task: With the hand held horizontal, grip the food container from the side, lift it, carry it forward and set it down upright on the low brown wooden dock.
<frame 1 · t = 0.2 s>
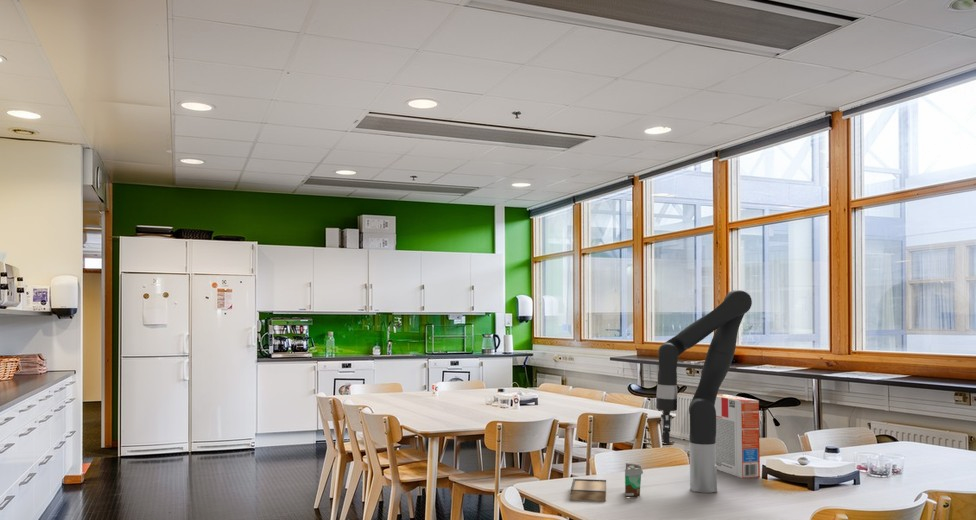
hand: (665, 441, 287), 17 cm above the table, tool pointing down, fingers open, 8 cm apart
pasta box: (734, 472, 317), on the table
dock: (588, 494, 276), on the table
food container: (634, 495, 276), on the table
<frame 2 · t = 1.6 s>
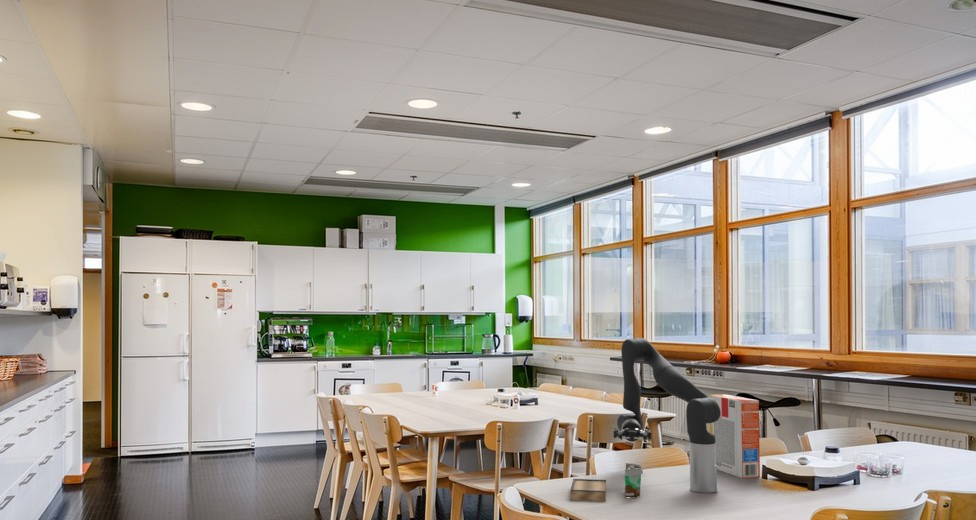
hand: (632, 437, 290), 18 cm above the table, tool horizontal, fingers open, 8 cm apart
nothing on the table moved.
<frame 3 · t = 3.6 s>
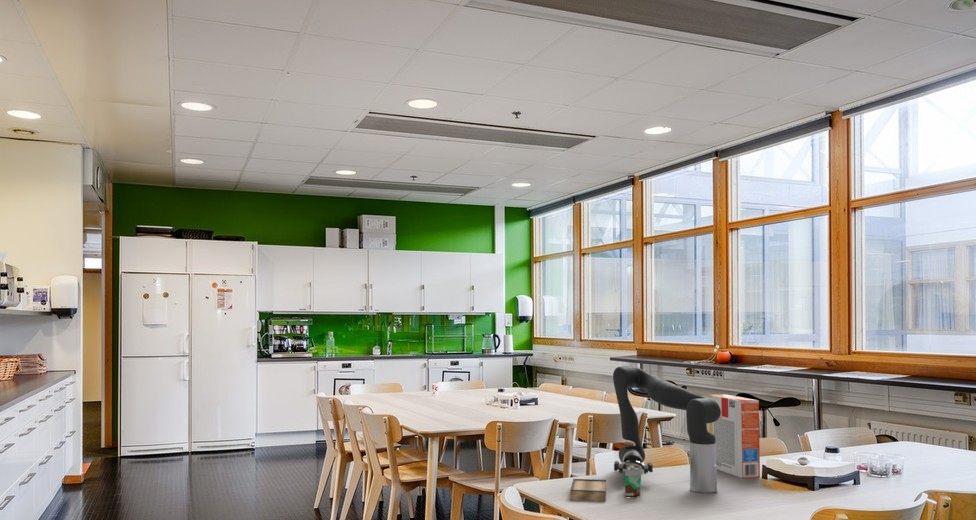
hand: (633, 470, 286), 7 cm above the table, tool horizontal, fingers open, 8 cm apart
nothing on the table moved.
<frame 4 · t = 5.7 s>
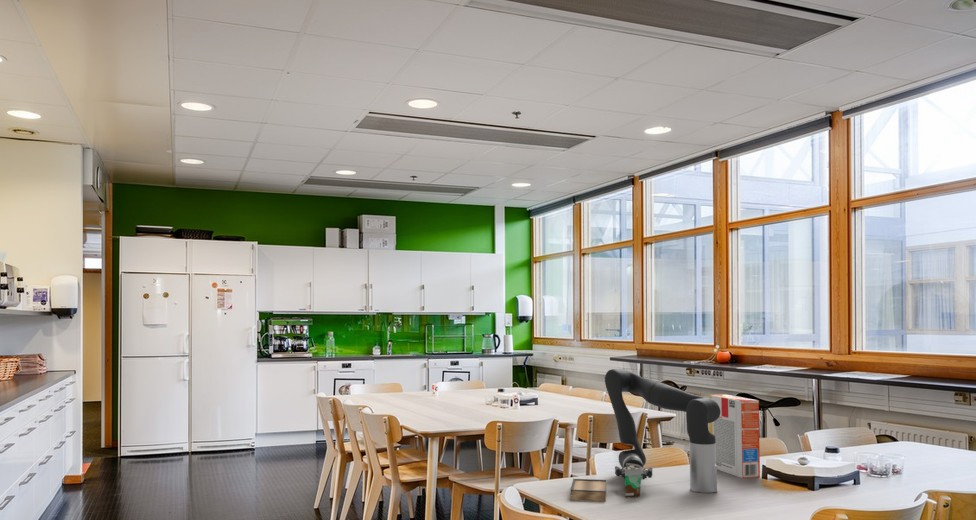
hand: (634, 476, 276), 7 cm above the table, tool horizontal, fingers closed on food container, 6 cm apart
food container: (634, 495, 276), on the table, touching gripper
everything else where it was.
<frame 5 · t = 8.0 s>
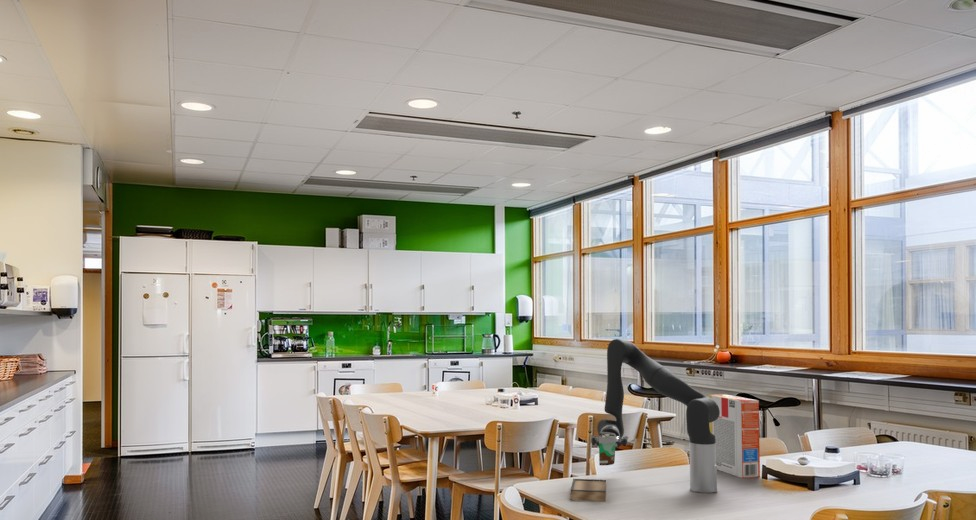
hand: (608, 444, 278), 18 cm above the table, tool horizontal, fingers closed on food container, 6 cm apart
food container: (609, 463, 278), point 11 cm above the table, touching gripper
everything else where it was.
when the fingers open (10 cm above the table, at t = 10.5 s): food container stays where it is, resting on dock.
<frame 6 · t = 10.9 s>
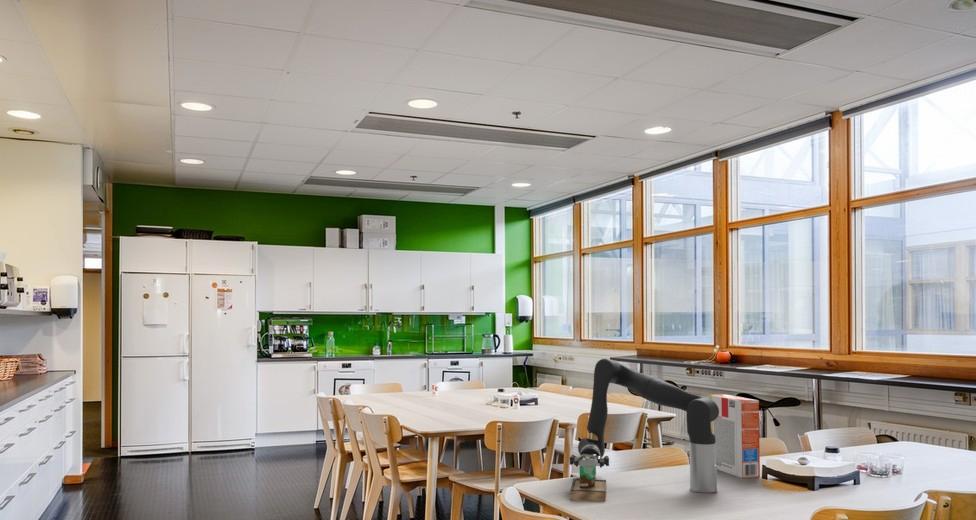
hand: (588, 464, 278), 11 cm above the table, tool horizontal, fingers open, 8 cm apart
food container: (589, 486, 277), point 3 cm above the table, touching dock
everything else where it was.
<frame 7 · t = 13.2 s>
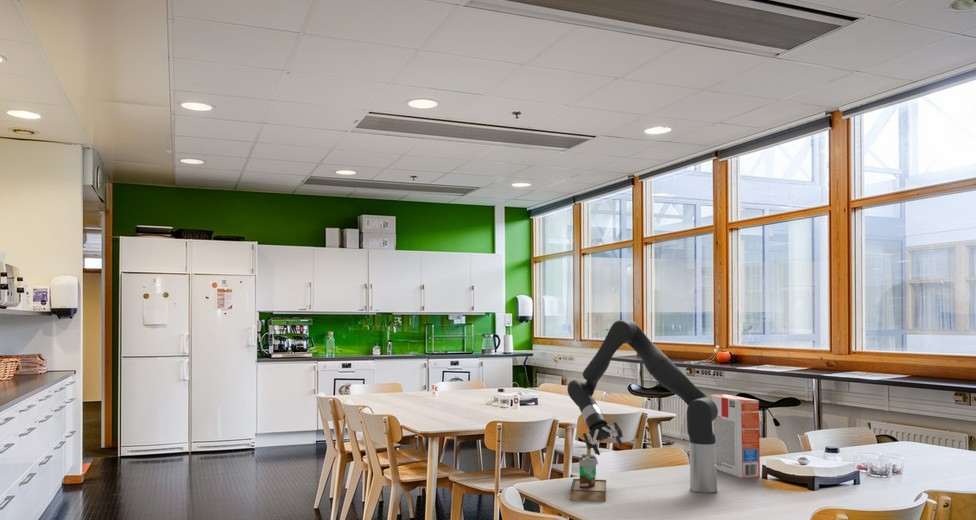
hand: (609, 449, 290), 14 cm above the table, tool tilted 55°, fingers open, 8 cm apart
nothing on the table moved.
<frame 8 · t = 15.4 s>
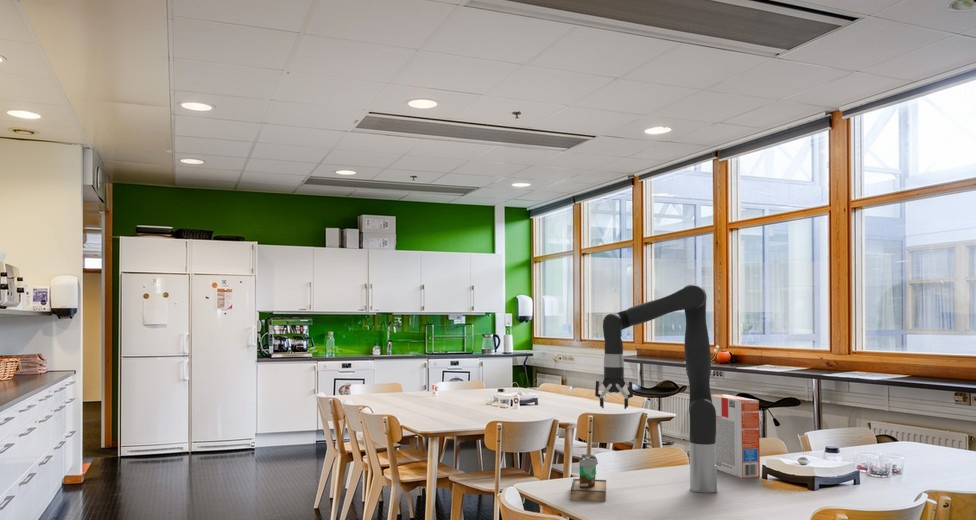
hand: (614, 408, 297), 28 cm above the table, tool pointing down, fingers open, 8 cm apart
nothing on the table moved.
at the end: food container inside the target area on the dock (0.3 cm from its centre), point 2.8 cm above the dock's base; food container tilted 0°; the gripper is holding nothing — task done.
